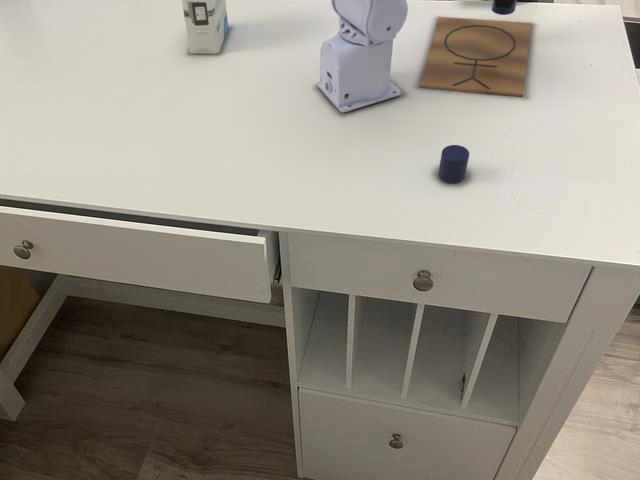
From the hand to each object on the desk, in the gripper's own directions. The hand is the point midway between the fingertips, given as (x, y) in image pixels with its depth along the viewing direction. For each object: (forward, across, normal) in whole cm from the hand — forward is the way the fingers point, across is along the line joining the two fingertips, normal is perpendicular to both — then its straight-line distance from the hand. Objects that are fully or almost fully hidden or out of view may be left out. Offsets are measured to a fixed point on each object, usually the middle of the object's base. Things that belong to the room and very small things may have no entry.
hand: (504, 0), depth 96 cm
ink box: (+7, -6, +44) cm, 45 cm away
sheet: (+7, -4, +2) cm, 8 cm away
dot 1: (+7, -32, +2) cm, 33 cm away
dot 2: (+1, 0, 0) cm, 1 cm away
